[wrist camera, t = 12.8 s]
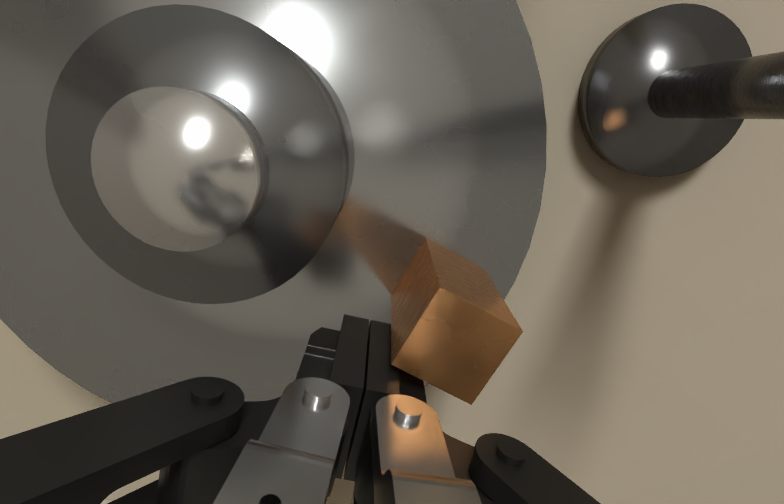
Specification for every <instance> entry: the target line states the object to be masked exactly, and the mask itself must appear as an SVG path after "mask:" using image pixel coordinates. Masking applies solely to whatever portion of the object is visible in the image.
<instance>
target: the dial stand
mask: <svg viewBox="0 0 784 504" xmlns="http://www.w3.org/2000/svg"><path fill="white" fill-rule="evenodd" d="M578 109H579V118H580V122H581V126H582V130H583V132H584V135H585V137H586V139H587V141H588V142H589V144H590V146H591V147H592V148H593V150H594V151H595V152H596V153H597V154H598V155H599V156H600V157H601V158H602V159H603V160H605V161H606V162H607V163H609V164H610V165H612V166H614V167H616V168H618V169H621V170H624V171H627V172H631V173H635V174H640V175H645V176H655V177H662V176H671V175H676V174H680V173H683V172H686V171H689V170H692V169H694V168H696V167H698V166H700V165H702V164H703V163H705V162H706V161H708V160H709V159H711V158H712V157H713V156H715V155H716V154H717V153H718V152H720V151H721V150H722V149H723V148H724V147H725V146H726V145H727V144H728V142H729V141H730V140H731V139H732V137H733V136H734V135H735V134H736V132H737V130H738V129H739V127H740V126H741V124H742V122H743V120H744V119H784V52H779V53H773V54H766V55H760V56H754V57H752V54H751V51H750V47H749V45H748V43H747V41H746V39H745V37H744V35H743V34H742V32H741V31H740V29H739V28H738V27H737V26H736V25H735V24H734V23H733V22H732V21H731V20H730V19H729V18H727V17H726V16H725V15H723V14H722V13H720V12H718V11H716V10H714V9H711V8H709V7H706V6H702V5H697V4H673V5H668V6H664V7H660V8H657V9H655V10H652V11H649V12H647V13H644V14H642V15H640V16H637V17H635V18H633V19H631V20H629V21H627V22H625V23H624V24H623V25H621V26H620V27H618V28H617V29H615V30H614V31H613V32H612V33H611V34H610V35H609V36H608V37H607V38H606V39H605V40H604V41H603V42H602V43H601V45H600V46H599V47H598V48H597V50H596V51H595V53H594V54H593V56H592V58H591V59H590V61H589V63H588V65H587V67H586V70H585V72H584V75H583V78H582V82H581V86H580V91H579V104H578Z"/></svg>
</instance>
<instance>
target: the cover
mask: <svg viewBox="0 0 784 504" xmlns="http://www.w3.org/2000/svg"><path fill="white" fill-rule="evenodd" d="M45 134H46V154H47V161H48V168H49V172H50V176H51V179H52V183H53V186H54V189H55V192H56V194H57V197H58V199H59V202H60V204H61V206H62V208H63V210H64V212H65V214H66V215H67V217H68V219H69V221H70V223H71V224H72V226H73V227H74V229H75V230H76V231H77V233H78V234H79V236H80V237H81V238H82V240H83V241H84V242H85V243H86V244H87V245H88V246H89V248H90V249H91V250H92V251H93V252H94V253H95V254H96V255H97V256H98V257H99V258H100V259H101V260H102V261H104V262H105V263H106V264H107V265H108V266H109V267H110V268H112V269H113V270H114V271H116V272H117V273H119V274H120V275H121V276H123V277H124V278H126V279H127V280H129V281H131V282H133V283H135V284H136V285H138V286H140V287H142V288H144V289H146V290H149V291H151V292H153V293H156V294H158V295H161V296H164V297H168V298H171V299H175V300H178V301H184V302H190V303H198V304H223V303H233V302H238V301H243V300H248V299H251V298H254V297H257V296H260V295H263V294H265V293H267V292H269V291H271V290H273V289H275V288H277V287H279V286H281V285H282V284H284V283H285V282H287V281H288V280H290V279H291V278H293V277H294V276H295V275H296V274H297V273H298V272H300V271H301V270H302V269H303V268H304V267H305V266H306V265H307V264H308V263H309V262H310V261H311V259H312V258H313V257H314V256H315V255H316V254H317V252H318V251H319V249H320V248H321V246H322V244H323V243H324V241H325V240H326V238H327V236H328V235H329V233H330V231H331V229H332V227H333V225H334V223H335V221H336V219H337V218H338V216H339V214H340V212H341V210H342V208H343V206H344V204H345V201H346V199H347V197H348V194H349V191H350V187H351V184H352V179H353V173H354V162H355V151H354V140H353V135H352V131H351V126H350V123H349V120H348V117H347V114H346V112H345V109H344V107H343V105H342V103H341V101H340V99H339V97H338V95H337V94H336V92H335V91H334V89H333V88H332V86H331V85H330V83H329V82H328V81H327V80H326V79H325V77H324V76H323V75H322V74H321V73H320V72H319V71H318V70H317V69H316V68H315V67H314V66H313V65H312V64H311V63H310V62H308V61H307V60H306V59H305V58H303V57H302V56H300V55H299V54H297V53H296V52H295V51H293V50H292V49H290V48H289V47H287V46H286V45H284V44H283V43H281V42H280V41H278V40H277V39H275V38H274V37H272V36H271V35H269V34H268V33H266V32H265V31H263V30H262V29H260V28H259V27H257V26H255V25H253V24H251V23H249V22H247V21H245V20H243V19H241V18H239V17H237V16H234V15H231V14H228V13H225V12H223V11H220V10H216V9H211V8H206V7H202V6H197V5H180V4H172V5H160V6H152V7H148V8H144V9H140V10H135V11H133V12H130V13H128V14H125V15H123V16H120V17H118V18H116V19H114V20H112V21H111V22H109V23H107V24H106V25H104V26H102V27H101V28H99V29H98V30H97V31H95V32H94V33H93V34H92V35H91V36H89V37H88V38H87V39H86V40H85V41H84V42H83V43H82V44H81V45H80V46H79V47H78V49H77V50H76V51H75V52H74V53H73V54H72V56H71V57H70V58H69V60H68V62H67V63H66V65H65V66H64V68H63V70H62V71H61V73H60V75H59V78H58V80H57V82H56V85H55V87H54V89H53V92H52V96H51V100H50V103H49V107H48V112H47V120H46V129H45Z"/></svg>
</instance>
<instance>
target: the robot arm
mask: <svg viewBox="0 0 784 504" xmlns="http://www.w3.org/2000/svg"><path fill="white" fill-rule="evenodd" d="M345 461H346V465H345ZM344 465H345V474H344V479H346V480H351V481H355V486H354V492H353V496H352V500H351V504H600V503H599V502H598V501H596V500H595V499H594V498H593V497H591V496H590V495H589V494H588V493H586V492H585V491H584V490H583V489H581V488H580V487H579V486H577V485H576V484H575V483H574V482H572V481H571V480H570V479H569V478H567V477H566V476H565V475H564V474H562V473H561V472H560V471H559V470H557V469H556V468H555V467H553V466H552V465H551V464H550V463H548V462H547V461H546V460H545V459H543V458H542V457H541V456H540V455H538V454H537V453H536V452H535V451H533V450H532V449H531V448H529V447H528V446H527V445H525V444H524V443H522V442H520V441H519V440H517V439H515V438H512V437H510V436H507V435H503V434H497V433H490V434H485V435H482V436H481V437H479V438H478V440H477V442H476V444H475V447H473V446H471V445H469V444H466V443H464V442H461V441H459V440H457V439H455V438H453V437H451V436H449V435H447V434H446V433H444V432H443V431H442V428H441V425H440V421H439V418H438V416H437V414H436V412H435V411H434V410H433V409H432V408H431V407H430V406H429V405H427V402H426V395H425V388H424V381H423V380H421V379H419V378H417V377H415V376H413V375H411V374H409V373H407V372H405V371H403V370H401V369H399V368H397V367H395V366H393V365H391V324H389V323H384V322H380V321H375V320H371V321H370V324H369V319H365V318H360V317H356V316H351V315H346V314H344V316H343V321H342V325H341V330H340V331H338V330H333V329H329V328H324V327H321V328H319V329H318V330H316V331H315V332H313V333H312V334H311V335H310V338H309V341H308V344H307V347H306V350H305V353H304V356H303V359H302V361H301V364H300V367H299V370H298V373H297V376H296V379H295V381H293V382H291V383H290V384H288V385H287V387H286V388H285V390H284V392H283V394H282V396H281V397H278V398H275V399H272V400H266V401H244V393H243V391H242V390H241V388H240V387H239V386H237V385H236V384H235V383H233V382H231V381H229V380H226V379H222V378H218V377H196V378H191V379H187V380H184V381H181V382H178V383H175V384H171V385H168V386H165V387H162V388H159V389H156V390H153V391H150V392H147V393H143V394H140V395H137V396H134V397H131V398H128V399H125V400H122V401H118V402H115V403H112V404H109V405H106V406H103V407H100V408H97V409H93V410H90V411H87V412H84V413H81V414H78V415H75V416H72V417H69V418H65V419H62V420H59V421H56V422H53V423H50V424H47V425H44V426H40V427H37V428H34V429H31V430H28V431H25V432H22V433H19V434H16V435H12V436H9V437H6V438H3V439H0V504H100V503H101V502H102V501H103V500H104V499H105V498H106V497H107V496H108V495H110V494H111V493H112V492H114V491H115V490H117V489H119V488H121V487H123V486H125V485H127V484H130V483H132V482H134V481H136V480H138V479H140V478H143V477H145V476H147V475H149V474H151V473H153V472H156V471H158V470H160V474H159V479H158V480H156V481H154V482H152V483H150V484H148V485H146V486H143V487H141V488H139V489H137V490H135V491H133V492H131V493H129V494H127V495H125V496H123V497H120V498H118V499H116V500H114V501H112V502H110V503H108V504H326V500H327V498H328V497H329V495H330V494H331V492H332V488H333V484H334V480H335V478H340V479H341V477H342V473H343V469H344Z"/></svg>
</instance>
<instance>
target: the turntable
mask: <svg viewBox="0 0 784 504" xmlns="http://www.w3.org/2000/svg"><path fill="white" fill-rule="evenodd" d="M172 4H180V5H197V6H202V7H206V8H211V9H216V10H220V11H223V12H225V13H228V14H231V15H234V16H237V17H239V18H241V19H243V20H245V21H247V22H249V23H251V24H253V25H255V26H257V27H259V28H260V29H262V30H263V31H265V32H266V33H268V34H269V35H271V36H272V37H274V38H275V39H277V40H278V41H280V42H281V43H283V44H284V45H286V46H287V47H289V48H290V49H292V50H293V51H295V52H296V53H297V54H299V55H300V56H302V57H303V58H305V59H306V60H307V61H308V62H310V63H311V64H312V65H313V66H314V67H315V68H316V69H317V70H318V71H319V72H320V73H321V74H322V75H323V76H324V77H325V79H326V80H327V81H328V82H329V83H330V85H331V86H332V88H333V89H334V91H335V92H336V94H337V95H338V97H339V99H340V101H341V103H342V105H343V107H344V109H345V112H346V114H347V117H348V120H349V123H350V126H351V131H352V135H353V140H354V151H355V162H354V173H353V179H352V184H351V187H350V191H349V194H348V197H347V199H346V201H345V204H344V206H343V208H342V210H341V212H340V214H339V216H338V218H337V219H336V221H335V223H334V225H333V227H332V229H331V231H330V233H329V235H328V236H327V238H326V240H325V241H324V243H323V244H322V246H321V248H320V249H319V251H318V252H317V254H316V255H315V256H314V257H313V258H312V259H311V261H310V262H309V263H308V264H307V265H306V266H305V267H304V268H303V269H302V270H301V271H300V272H298V273H297V274H296V275H295V276H294V277H293V278H291V279H290V280H288V281H287V282H285V283H284V284H282V285H281V286H279V287H277V288H275V289H273V290H271V291H269V292H267V293H265V294H263V295H260V296H257V297H254V298H251V299H248V300H243V301H238V302H233V303H223V304H198V303H190V302H184V301H178V300H175V299H171V298H168V297H164V296H161V295H158V294H156V293H153V292H151V291H149V290H146V289H144V288H142V287H140V286H138V285H136V284H135V283H133V282H131V281H129V280H127V279H126V278H124V277H123V276H121V275H120V274H119V273H117V272H116V271H114V270H113V269H112V268H110V267H109V266H108V265H107V264H106V263H105V262H104V261H102V260H101V259H100V258H99V257H98V256H97V255H96V254H95V253H94V252H93V251H92V250H91V249H90V248H89V246H88V245H87V244H86V243H85V242H84V241H83V240H82V238H81V237H80V236H79V234H78V233H77V231H76V230H75V229H74V227H73V226H72V224H71V223H70V221H69V219H68V217H67V215H66V214H65V212H64V210H63V208H62V206H61V204H60V202H59V199H58V197H57V194H56V192H55V189H54V186H53V183H52V179H51V176H50V172H49V168H48V161H47V154H46V134H45V129H46V120H47V112H48V107H49V103H50V100H51V96H52V92H53V89H54V87H55V85H56V82H57V80H58V78H59V75H60V73H61V71H62V70H63V68H64V66H65V65H66V63H67V62H68V60H69V58H70V57H71V56H72V54H73V53H74V52H75V51H76V50H77V49H78V47H79V46H80V45H81V44H82V43H83V42H84V41H85V40H86V39H87V38H88V37H89V36H91V35H92V34H93V33H94V32H95V31H97V30H98V29H99V28H101V27H102V26H104V25H106V24H107V23H109V22H111V21H112V20H114V19H116V18H118V17H120V16H123V15H125V14H128V13H130V12H133V11H135V10H140V9H144V8H148V7H152V6H160V5H172ZM545 171H546V118H545V109H544V101H543V92H542V83H541V79H540V75H539V71H538V67H537V63H536V59H535V55H534V51H533V46H532V42H531V39H530V36H529V33H528V31H527V28H526V26H525V23H524V21H523V18H522V15H521V13H520V10H519V8H518V5H517V3H516V0H0V319H1V320H2V321H3V322H4V323H5V324H6V325H7V326H8V327H9V328H10V329H11V330H12V331H13V332H14V333H15V334H16V335H17V336H18V337H19V338H20V339H21V340H22V341H23V342H24V343H25V344H26V345H27V346H28V347H29V348H30V349H32V350H33V351H34V352H35V353H37V354H38V355H39V356H40V357H42V358H43V359H44V360H45V361H46V362H48V363H49V364H50V365H51V366H53V367H54V368H55V369H56V370H58V371H59V372H60V373H62V374H64V375H65V376H67V377H68V378H70V379H71V380H73V381H74V382H76V383H77V384H79V385H80V386H82V387H84V388H85V389H87V390H88V391H90V392H92V393H94V394H95V395H97V396H99V397H101V398H103V399H105V400H107V401H109V402H111V403H115V402H118V401H122V400H125V399H128V398H131V397H134V396H137V395H140V394H143V393H147V392H150V391H153V390H156V389H159V388H162V387H165V386H168V385H171V384H175V383H178V382H181V381H184V380H187V379H191V378H196V377H218V378H222V379H226V380H229V381H231V382H233V383H235V384H236V385H237V386H239V387H240V388H241V390H242V391H243V393H244V401H266V400H272V399H275V398H278V397H281V396H282V394H283V392H284V390H285V388H286V387H287V385H288V384H290V383H291V382H293V381H295V379H296V376H297V373H298V370H299V367H300V364H301V361H302V359H303V356H304V353H305V350H306V347H307V344H308V341H309V338H310V335H311V334H312V333H313V332H315V331H316V330H318V329H319V328H321V327H324V328H329V329H333V330H338V331H340V330H341V325H342V321H343V316H344V314H346V315H351V316H356V317H360V318H365V319H369V324H370V321H371V320H375V321H380V322H384V323H389V324H391V365H393V366H395V367H397V368H399V369H401V370H403V371H405V372H407V373H409V374H411V375H413V376H415V377H417V378H419V379H421V380H423V381H424V386H425V385H426V384H428V383H429V384H431V385H433V386H435V387H437V388H439V389H441V390H443V391H445V392H447V393H449V394H451V395H453V396H455V397H457V398H459V399H461V400H463V401H465V402H467V403H469V404H471V405H472V403H473V402H474V400H475V399H476V398H477V396H478V395H479V393H480V392H481V391H482V389H483V388H484V386H485V385H486V383H487V382H488V381H489V379H490V378H491V376H492V375H493V373H494V372H495V371H496V369H497V368H498V366H499V365H500V363H501V362H502V361H503V359H504V358H505V356H506V355H507V354H508V352H509V351H510V349H511V348H512V346H513V345H514V344H515V342H516V341H517V339H518V338H519V336H520V335H521V334H522V332H523V331H522V329H521V327H520V326H519V324H518V323H517V321H516V319H515V318H514V316H513V314H512V313H511V311H510V310H509V308H508V306H507V305H506V303H505V301H504V299H505V297H506V295H507V294H508V292H509V290H510V289H511V287H512V285H513V284H514V282H515V279H516V277H517V275H518V272H519V270H520V268H521V265H522V263H523V261H524V258H525V256H526V254H527V251H528V249H529V246H530V243H531V239H532V236H533V232H534V228H535V225H536V221H537V218H538V214H539V211H540V205H541V198H542V191H543V185H544V178H545Z"/></svg>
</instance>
